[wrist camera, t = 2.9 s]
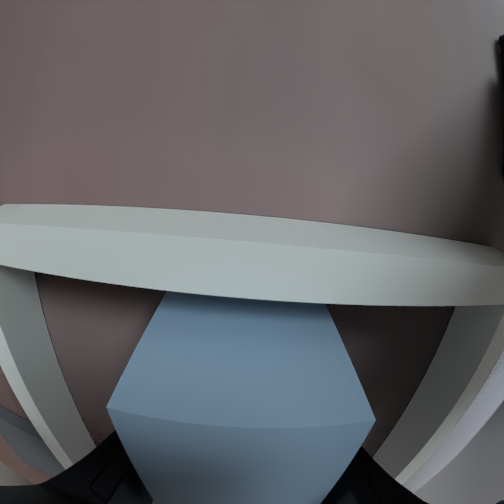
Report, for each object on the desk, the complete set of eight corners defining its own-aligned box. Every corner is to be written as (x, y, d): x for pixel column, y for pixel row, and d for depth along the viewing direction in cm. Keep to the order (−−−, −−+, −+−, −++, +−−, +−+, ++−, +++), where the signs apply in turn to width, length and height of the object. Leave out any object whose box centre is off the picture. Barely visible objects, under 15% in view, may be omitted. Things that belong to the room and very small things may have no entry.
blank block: (319, 291, 9) (376, 420, 4) (285, 441, 11) (294, 533, 6) (171, 283, 9) (105, 407, 4) (187, 436, 11) (172, 527, 6)
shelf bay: (492, 246, 8) (534, 270, 6) (381, 464, 13) (390, 494, 10) (6, 203, 8) (-40, 220, 5) (81, 443, 12) (68, 473, 10)
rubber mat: (105, 451, 12) (100, 463, 11) (133, 496, 15) (130, 506, 14) (-13, 397, 12) (-19, 405, 11) (27, 454, 14) (23, 461, 13)
